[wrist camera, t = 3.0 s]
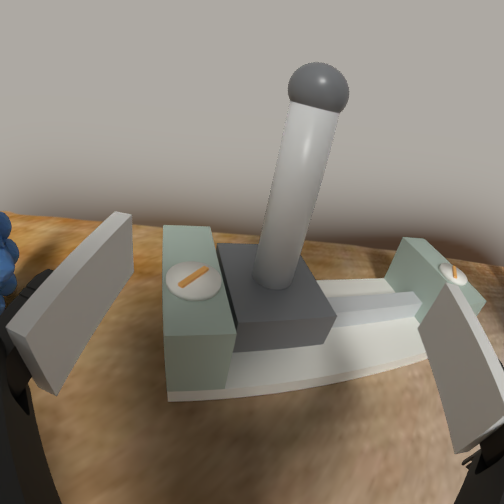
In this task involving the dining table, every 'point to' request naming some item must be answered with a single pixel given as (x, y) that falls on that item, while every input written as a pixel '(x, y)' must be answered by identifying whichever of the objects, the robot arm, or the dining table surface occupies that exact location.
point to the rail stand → (299, 358)
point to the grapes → (7, 260)
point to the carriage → (287, 227)
